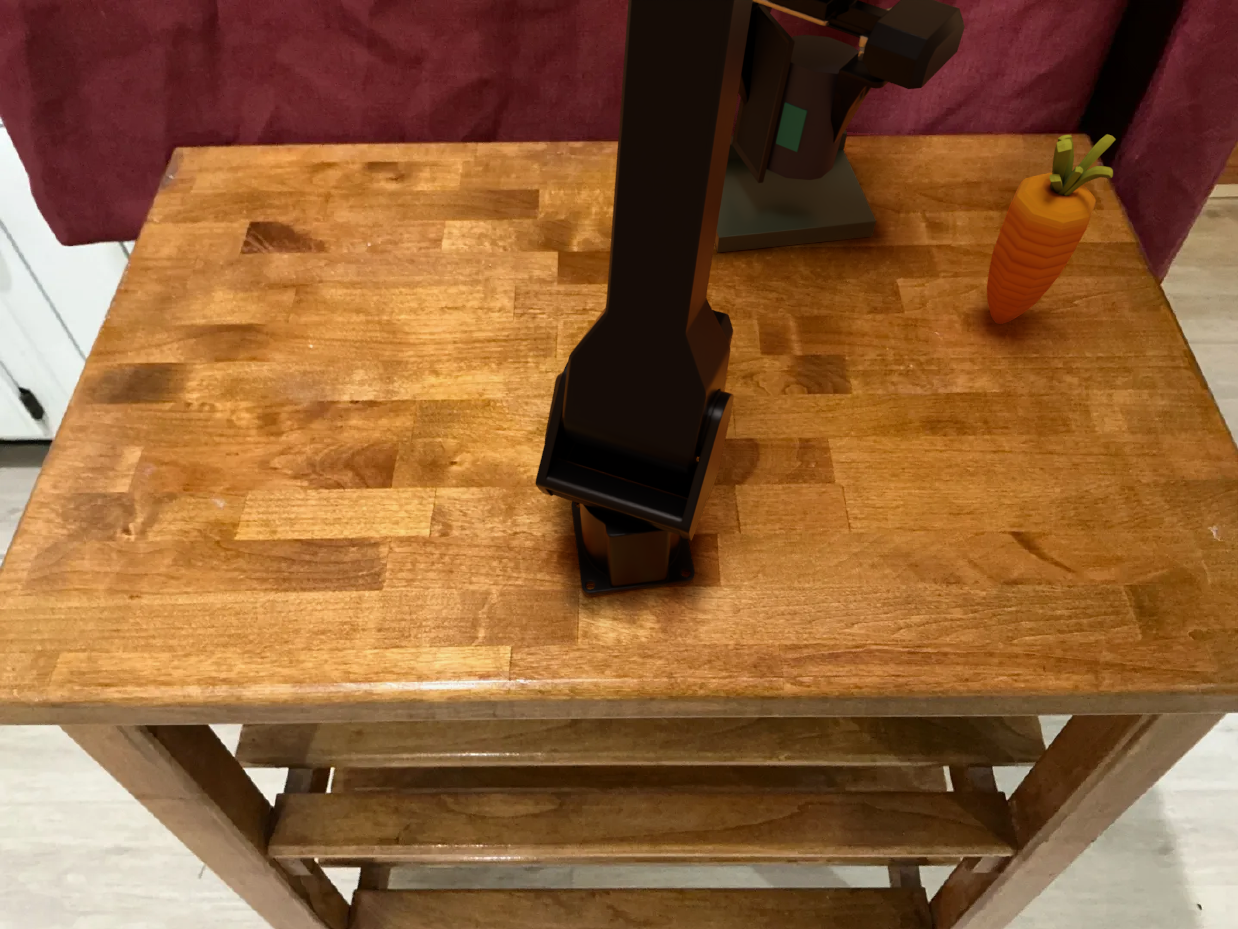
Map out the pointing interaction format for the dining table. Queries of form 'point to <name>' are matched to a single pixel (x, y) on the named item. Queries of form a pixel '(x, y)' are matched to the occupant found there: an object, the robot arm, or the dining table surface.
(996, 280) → the carrot
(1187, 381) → the dining table surface
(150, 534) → the dining table surface
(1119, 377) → the dining table surface
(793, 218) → the dark grey square base
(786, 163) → the speaker
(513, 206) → the dining table surface
